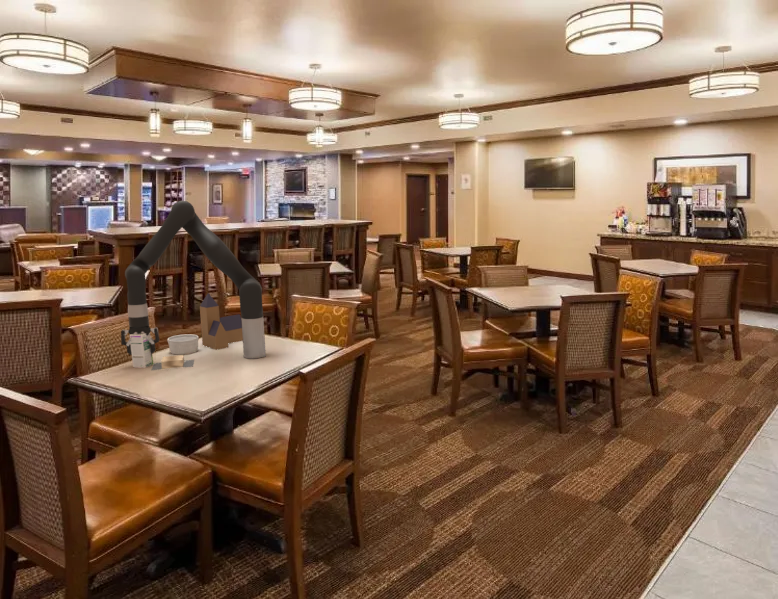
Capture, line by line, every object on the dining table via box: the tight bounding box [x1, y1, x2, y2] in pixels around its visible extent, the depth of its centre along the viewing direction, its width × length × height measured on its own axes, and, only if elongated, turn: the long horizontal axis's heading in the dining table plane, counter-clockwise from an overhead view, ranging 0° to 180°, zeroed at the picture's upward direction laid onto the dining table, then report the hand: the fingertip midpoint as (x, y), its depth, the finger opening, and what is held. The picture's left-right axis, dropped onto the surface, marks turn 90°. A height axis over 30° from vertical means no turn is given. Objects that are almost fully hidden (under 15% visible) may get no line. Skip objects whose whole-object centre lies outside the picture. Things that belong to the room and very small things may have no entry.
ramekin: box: [167, 333, 200, 356], centre depth 266 cm, size 13×13×7 cm
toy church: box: [199, 292, 243, 351], centre depth 279 cm, size 12×19×25 cm
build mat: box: [151, 359, 195, 371], centre depth 244 cm, size 16×11×1 cm
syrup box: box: [129, 332, 154, 369], centre depth 243 cm, size 6×6×14 cm
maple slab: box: [161, 354, 185, 370], centre depth 243 cm, size 8×8×3 cm
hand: (141, 353), depth 243 cm, fingers open, 8 cm apart
